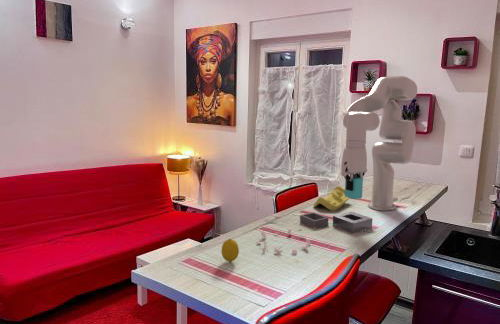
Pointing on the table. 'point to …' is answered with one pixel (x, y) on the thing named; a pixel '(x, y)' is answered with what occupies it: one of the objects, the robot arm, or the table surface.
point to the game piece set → (281, 246)
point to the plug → (355, 188)
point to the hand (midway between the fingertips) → (353, 189)
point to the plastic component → (333, 199)
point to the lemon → (230, 250)
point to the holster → (314, 220)
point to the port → (352, 222)
